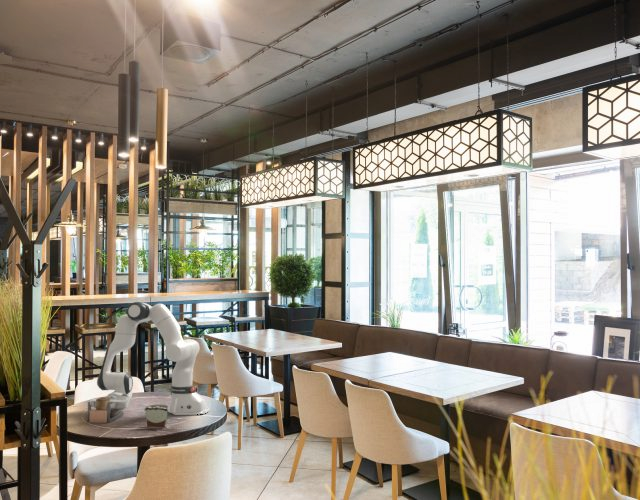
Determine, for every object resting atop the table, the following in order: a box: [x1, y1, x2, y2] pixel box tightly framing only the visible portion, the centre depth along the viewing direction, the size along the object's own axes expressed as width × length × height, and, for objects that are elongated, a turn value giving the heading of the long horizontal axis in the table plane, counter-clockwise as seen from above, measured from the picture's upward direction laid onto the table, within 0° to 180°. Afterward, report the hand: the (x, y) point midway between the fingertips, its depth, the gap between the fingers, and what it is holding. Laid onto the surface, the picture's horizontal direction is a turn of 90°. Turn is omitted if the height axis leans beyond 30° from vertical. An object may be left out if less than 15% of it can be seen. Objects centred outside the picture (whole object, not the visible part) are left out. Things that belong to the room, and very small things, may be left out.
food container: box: [144, 403, 169, 429], centre depth 277 cm, size 12×6×10 cm, turn 84°
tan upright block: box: [95, 397, 110, 410], centre depth 287 cm, size 5×5×9 cm
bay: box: [86, 401, 124, 424], centre depth 290 cm, size 12×17×10 cm
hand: (102, 406), depth 286 cm, fingers closed on tan upright block, 5 cm apart
